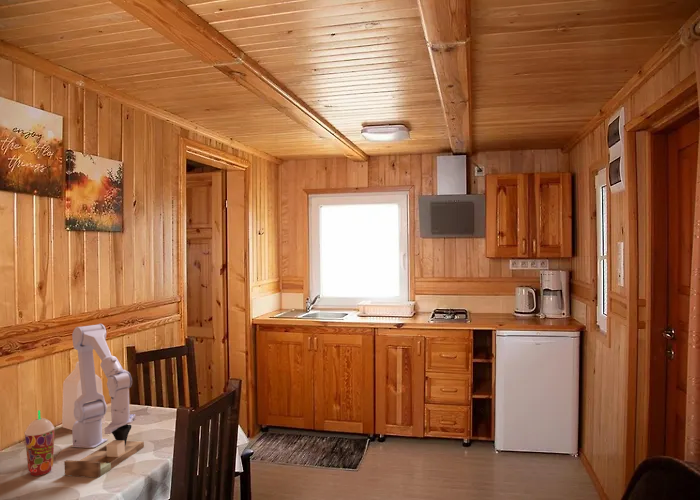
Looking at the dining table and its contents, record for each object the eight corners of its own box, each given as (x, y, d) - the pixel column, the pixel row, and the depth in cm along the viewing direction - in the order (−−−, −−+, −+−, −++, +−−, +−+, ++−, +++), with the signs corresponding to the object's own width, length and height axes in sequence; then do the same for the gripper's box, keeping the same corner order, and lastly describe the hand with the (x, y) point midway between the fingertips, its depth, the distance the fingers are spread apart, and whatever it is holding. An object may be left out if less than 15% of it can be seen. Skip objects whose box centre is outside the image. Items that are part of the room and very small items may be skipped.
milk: (105, 423, 211) (103, 360, 211) (78, 431, 201) (76, 366, 201) (89, 418, 217) (87, 358, 217) (62, 427, 208) (60, 363, 208)
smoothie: (33, 480, 158) (32, 416, 158) (20, 474, 162) (18, 412, 162) (61, 469, 165) (59, 408, 165) (47, 464, 169) (45, 405, 169)
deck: (64, 475, 160) (64, 461, 160) (114, 446, 184) (113, 433, 184) (98, 477, 158) (98, 463, 158) (143, 447, 182) (143, 434, 182)
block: (106, 456, 170) (106, 444, 170) (114, 451, 174) (113, 440, 174) (117, 456, 169) (117, 445, 169) (124, 452, 173) (124, 440, 173)
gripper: (117, 415, 167) (118, 456, 167) (143, 402, 181) (144, 440, 181) (98, 414, 168) (99, 455, 168) (125, 401, 182) (126, 439, 182)
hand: (121, 447), depth 175 cm, fingers closed
